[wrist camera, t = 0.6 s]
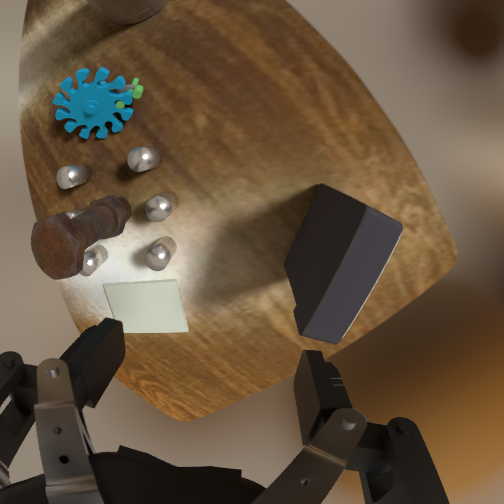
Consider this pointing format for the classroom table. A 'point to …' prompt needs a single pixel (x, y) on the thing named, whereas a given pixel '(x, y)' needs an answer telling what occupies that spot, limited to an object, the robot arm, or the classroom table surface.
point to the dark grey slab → (337, 262)
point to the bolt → (76, 235)
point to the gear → (96, 102)
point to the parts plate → (148, 306)
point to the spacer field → (154, 208)
